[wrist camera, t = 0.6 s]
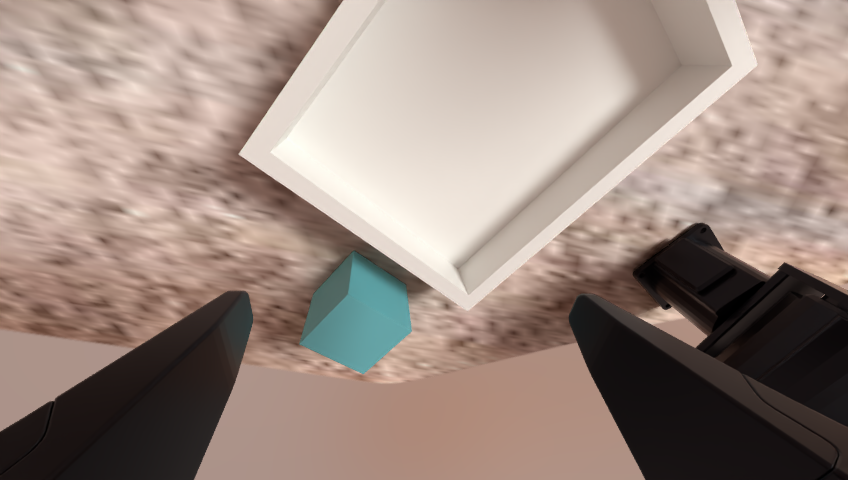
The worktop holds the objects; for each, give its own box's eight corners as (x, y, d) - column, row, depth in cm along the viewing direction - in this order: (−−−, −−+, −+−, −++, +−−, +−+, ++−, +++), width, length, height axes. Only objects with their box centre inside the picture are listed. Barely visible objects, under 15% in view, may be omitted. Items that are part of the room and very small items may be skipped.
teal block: (405, 284, 25) (411, 331, 20) (365, 322, 26) (363, 374, 22) (353, 249, 23) (348, 294, 18) (313, 293, 24) (299, 344, 20)
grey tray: (689, 64, 19) (757, 64, 16) (455, 276, 25) (467, 311, 21) (538, -257, 12) (601, -379, 9) (265, 136, 18) (238, 154, 15)
